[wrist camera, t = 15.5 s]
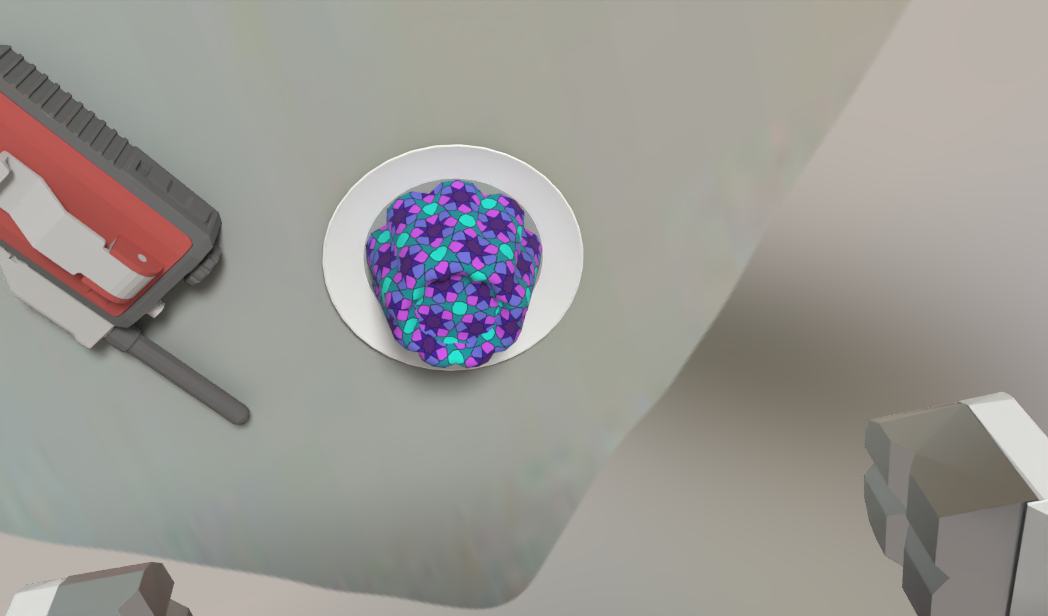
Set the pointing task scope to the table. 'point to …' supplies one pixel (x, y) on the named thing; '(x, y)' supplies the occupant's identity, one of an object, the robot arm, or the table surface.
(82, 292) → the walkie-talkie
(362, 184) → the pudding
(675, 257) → the table surface
